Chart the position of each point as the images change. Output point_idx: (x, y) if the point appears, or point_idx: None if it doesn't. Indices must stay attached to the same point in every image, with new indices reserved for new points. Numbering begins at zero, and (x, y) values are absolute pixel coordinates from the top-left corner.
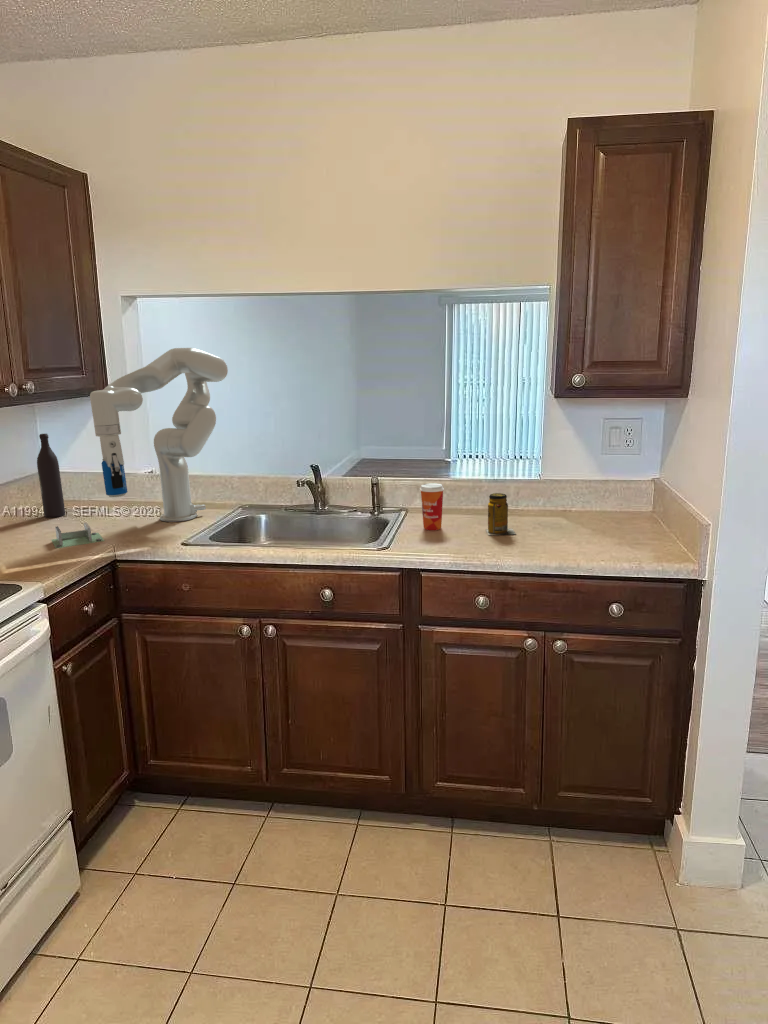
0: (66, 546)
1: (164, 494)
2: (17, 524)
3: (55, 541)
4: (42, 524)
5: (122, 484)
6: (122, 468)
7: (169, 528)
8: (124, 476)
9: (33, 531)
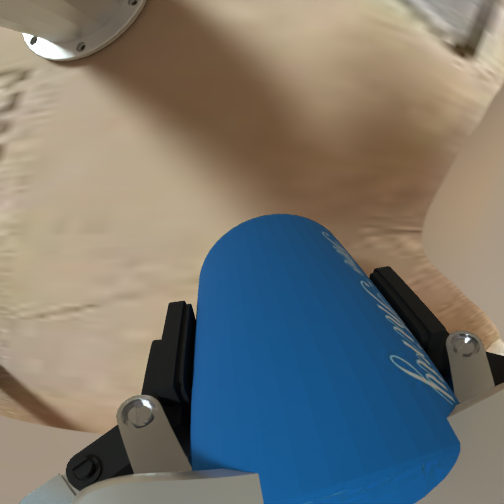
0: None
1: (49, 1)
2: (43, 416)
3: None
4: (44, 387)
5: (397, 279)
6: (433, 371)
7: (239, 24)
8: (368, 292)
9: (104, 406)
